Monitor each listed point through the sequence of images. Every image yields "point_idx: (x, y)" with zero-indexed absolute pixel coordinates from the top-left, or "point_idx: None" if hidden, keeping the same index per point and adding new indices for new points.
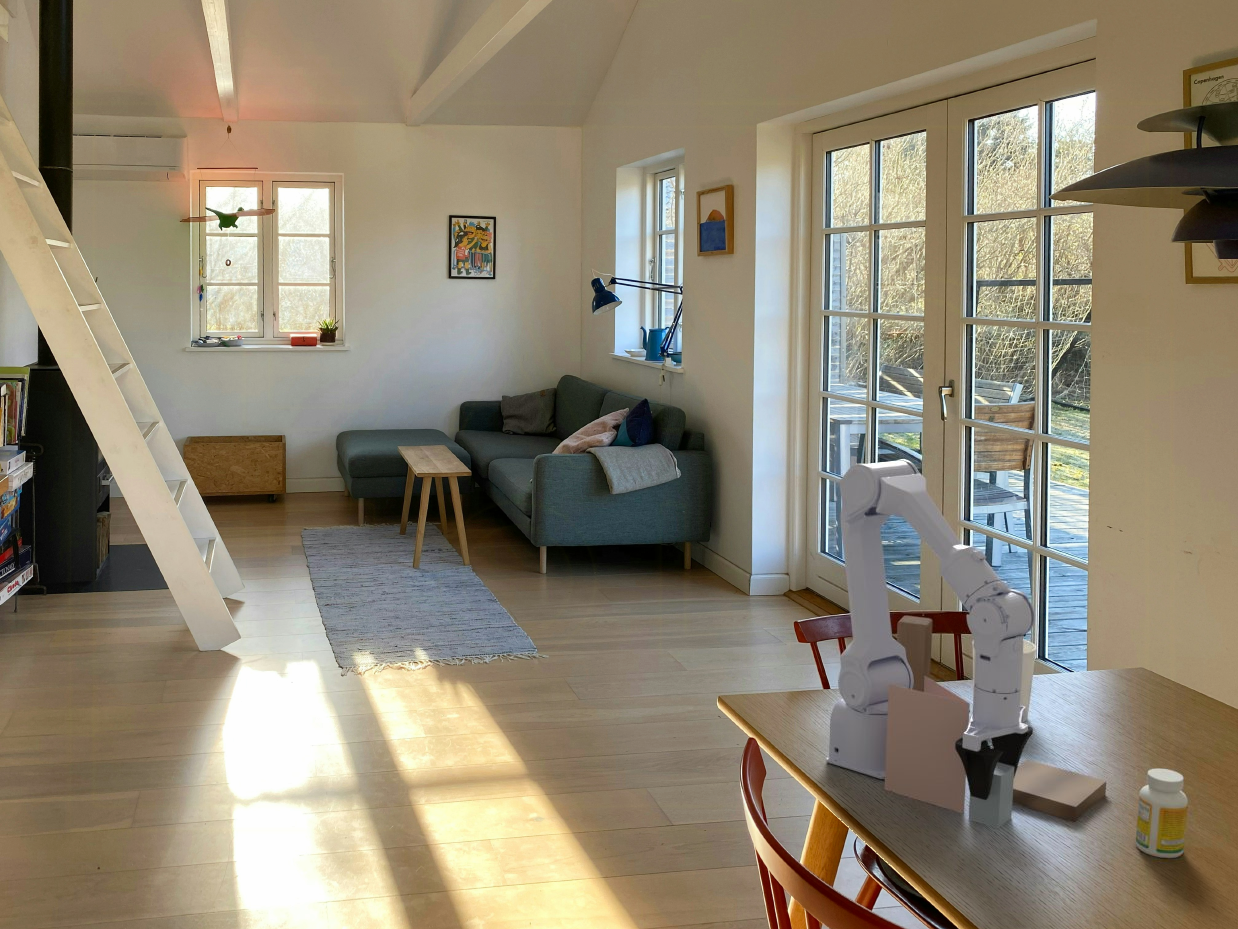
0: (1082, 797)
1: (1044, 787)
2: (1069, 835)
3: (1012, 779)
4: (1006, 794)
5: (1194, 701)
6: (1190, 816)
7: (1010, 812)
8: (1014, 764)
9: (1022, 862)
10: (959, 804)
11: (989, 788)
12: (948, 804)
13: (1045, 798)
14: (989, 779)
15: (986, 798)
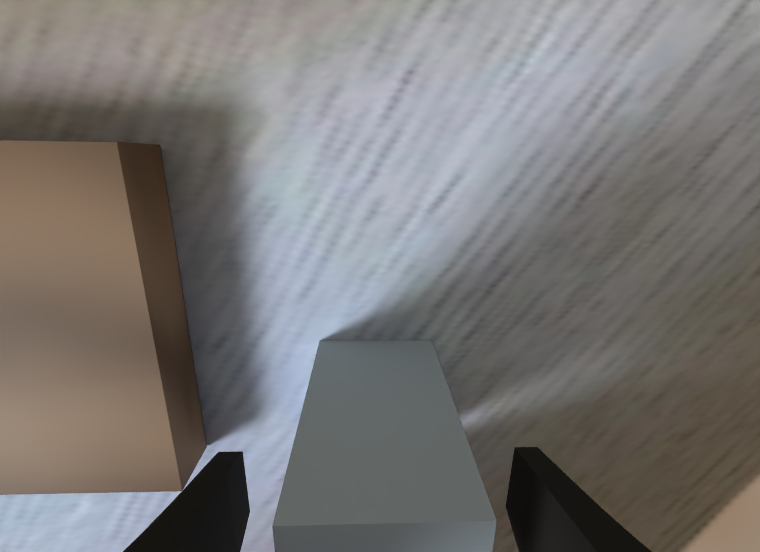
0: None
1: (38, 340)
2: (302, 113)
3: (308, 456)
4: (381, 411)
5: None
6: None
7: (329, 353)
8: (194, 536)
9: (650, 169)
10: None
11: (566, 488)
12: None
13: (145, 292)
14: (644, 547)
15: (540, 451)
